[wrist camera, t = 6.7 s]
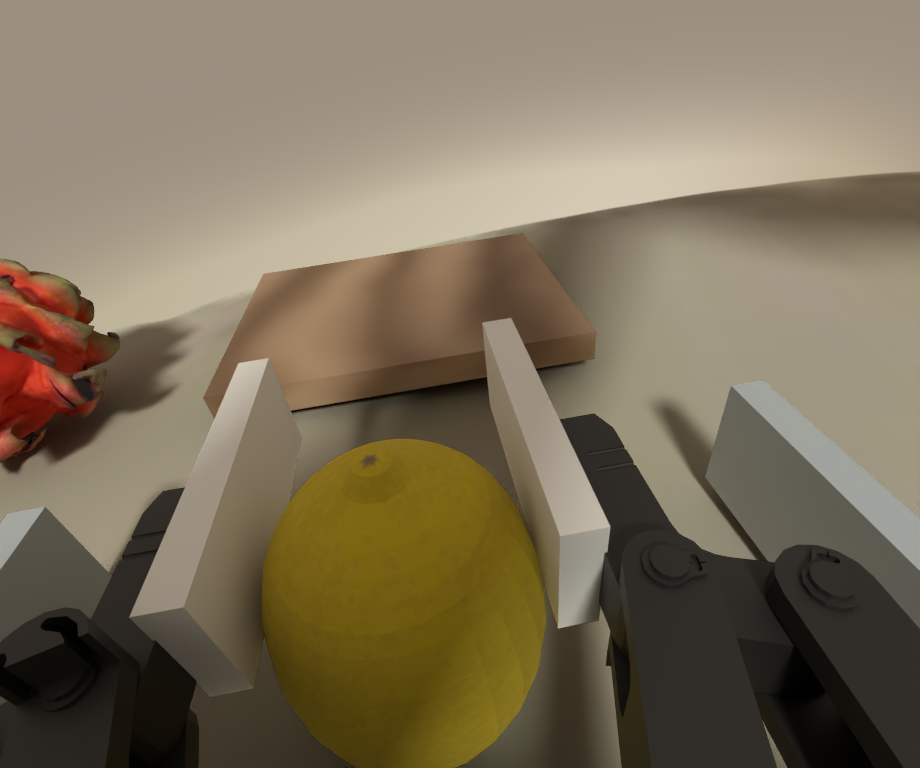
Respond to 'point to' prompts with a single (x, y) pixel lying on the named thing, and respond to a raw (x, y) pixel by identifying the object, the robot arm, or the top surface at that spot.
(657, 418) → the top surface
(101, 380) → the dragon fruit
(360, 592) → the lemon
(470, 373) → the board
